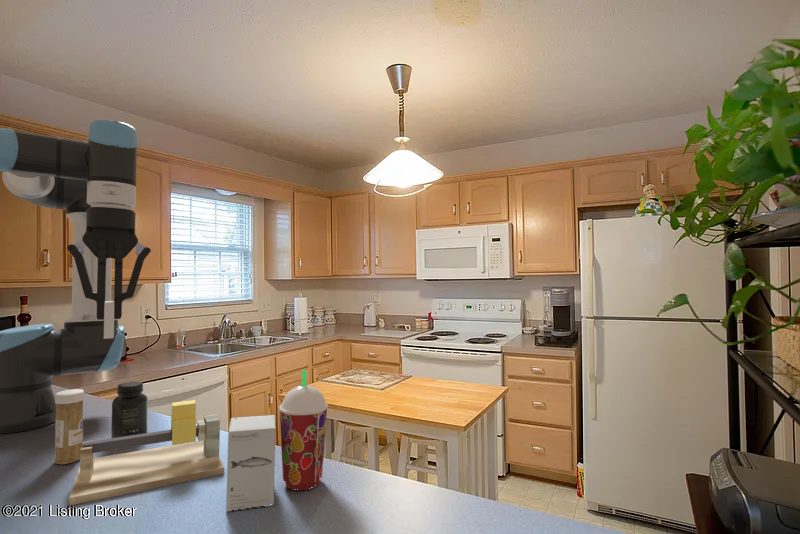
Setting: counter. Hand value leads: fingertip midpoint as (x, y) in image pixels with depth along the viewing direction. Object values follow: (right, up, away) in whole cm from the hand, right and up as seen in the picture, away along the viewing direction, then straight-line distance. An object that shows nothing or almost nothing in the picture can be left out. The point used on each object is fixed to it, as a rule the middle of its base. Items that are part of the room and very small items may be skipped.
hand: (108, 337), depth 81 cm
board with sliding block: (+7, -25, +2) cm, 26 cm away
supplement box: (+29, -26, -8) cm, 39 cm away
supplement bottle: (-7, -25, +18) cm, 32 cm away
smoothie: (+36, -26, -3) cm, 44 cm away
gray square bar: (+7, -20, +2) cm, 21 cm away
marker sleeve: (+11, -20, +4) cm, 24 cm away
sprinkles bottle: (-12, -25, +6) cm, 28 cm away
